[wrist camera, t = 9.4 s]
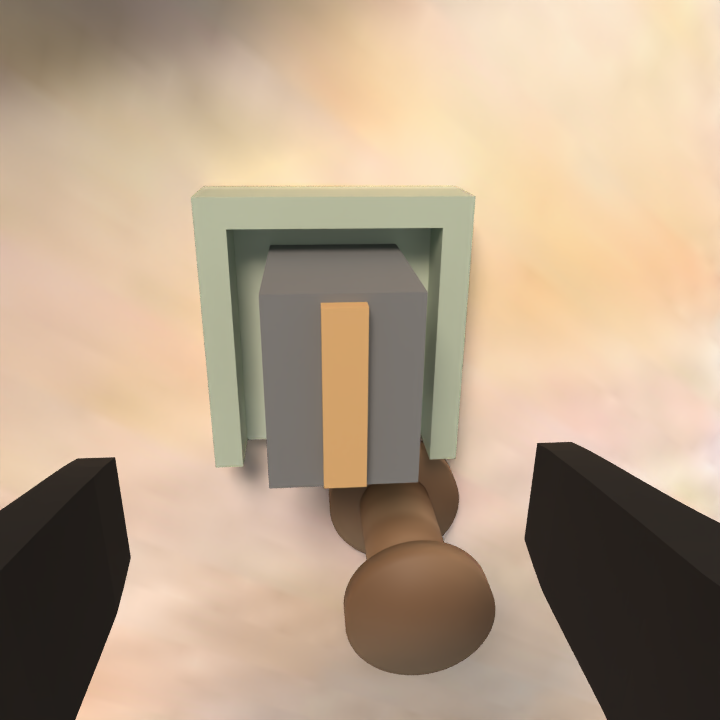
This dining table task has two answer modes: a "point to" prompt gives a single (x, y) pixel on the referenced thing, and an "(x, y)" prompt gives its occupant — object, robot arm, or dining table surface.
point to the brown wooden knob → (411, 574)
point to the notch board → (312, 227)
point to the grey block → (342, 365)
